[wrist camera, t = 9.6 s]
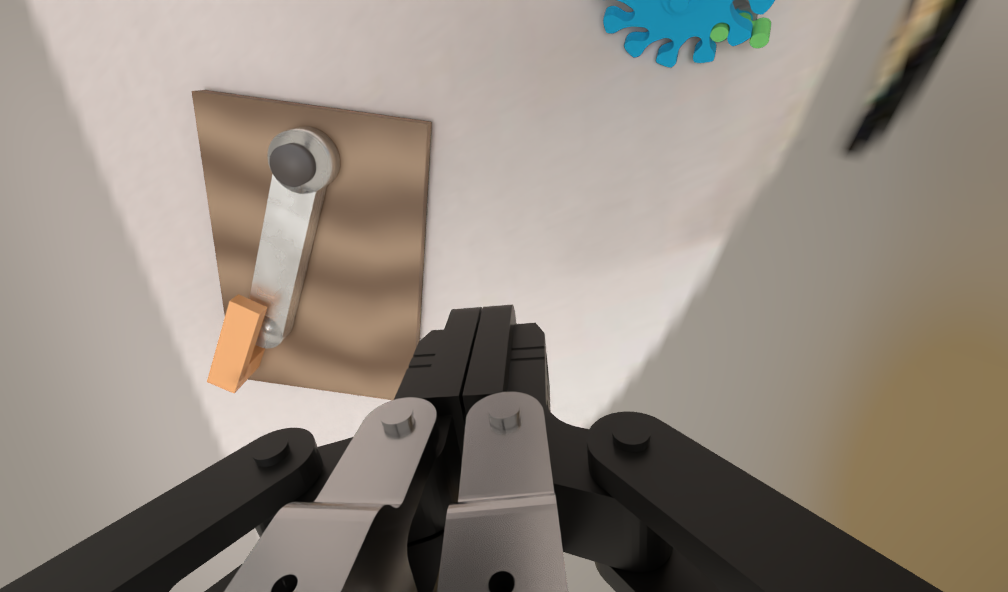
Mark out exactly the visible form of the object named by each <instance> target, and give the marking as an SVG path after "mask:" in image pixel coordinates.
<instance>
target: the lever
mask: <svg viewBox="0 0 1008 592" xmlns="http://www.w3.org/2000/svg"><path fill="white" fill-rule="evenodd" d="M288 143H297V144H300V145H303V146H304V147H306V148H307V149H308V150H309V151H310V152H311V153H312V155H313V156H314V158H315V161H316V173H315V176H314V177H313V179H312V180H310V181H309V182H307V183H305V184H303V185H301V186H298V187H290V186H286V185H284V184H282V183H281V182H279V181H278V180H277V179H276V178H275V176H274V175H273V173H272V180H271V185H270V190H269V196H268V201H267V206H266V212H265V217H264V222H263V228H262V233H261V239H260V244H259V249H258V255H257V260H256V265H255V271H254V276H253V281H252V287H251V292H250V297H249V299H250V300H252V301H255V302H257V303H259V304H261V305H263V306H266V307H267V310H266V313H265V316H264V319H263V323H262V326H261V329H260V332H259V335H258V338H257V341H256V344H255V345H257V346H259V347H262V348H273V347H276V346H277V345H279V344H280V343H281V341H282V340H283V339H284V338H285V337H286V336H287V335H288V334H289V333H290V332H291V330H292V328H293V324H294V320H295V316H296V312H297V308H298V304H299V299H300V295H301V291H302V287H303V283H304V279H305V274H306V270H307V266H308V262H309V258H310V254H311V250H312V245H313V241H314V237H315V233H316V229H317V225H318V220H319V216H320V212H321V208H322V204H323V200H324V195H325V191H326V187H327V185H328V184H330V183H331V182H332V181H333V180H334V179H335V178H336V176H337V174H338V172H339V168H340V157H339V153H338V150H337V148H336V146H335V144H334V143H333V142H332V140H331V139H330V138H329V137H328V136H327V135H326V134H325V133H323V132H321V131H320V130H318V129H315V128H312V127H299V128H295V129H291V130H287V131H284V132H281V133H279V134H278V135H277V136H275V137H274V138H273V140H272V141H271V143H270V145H269V148H268V154H267V155H268V164H269V167H270V163H269V160H270V155H271V153H272V152H273V150H274V149H275V148H277V147H279V146H281V145H285V144H288ZM270 170H271V168H270ZM271 172H272V171H271Z"/></svg>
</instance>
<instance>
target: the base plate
mask: <svg viewBox="0 0 1008 592" xmlns="http://www.w3.org/2000/svg"><path fill="white" fill-rule="evenodd" d="M192 97H193V104H194V110H195V117H196V124H197V131H198V138H199V144H200V151H201V158H202V165H203V171H204V178H205V185H206V192H207V198H208V205H209V212H210V219H211V225H212V232H213V239H214V246H215V253H216V259H217V266H218V273H219V280H220V286H221V293H222V300H223V307H224V313H225V315H226V312H227V308H228V305H229V301H230V300H231V299H233V298H234V297H235V296H237V295H238V294H239V295H241V296H244V297H246V298H248V299H249V297H250V292H251V287H252V281H253V276H254V271H255V265H256V260H257V255H258V249H259V244H260V239H261V233H262V228H263V222H264V217H265V212H266V206H267V201H268V196H269V190H270V185H271V180H272V173H273V175H274V176H275V178H276V179H277V180H278V181H279V182H281V183H282V184H284V185H286V186H290V187H298V186H301V185H303V184H305V183H307V182H309V181H310V180H312V179H313V177H314V176H315V173H316V161H315V158H314V156H313V155H312V153H311V152H310V151H309V150H308V149H307V148H306V147H304V146H303V145H300V144H297V143H288V144H285V145H281V146H279V147H277V148H275V149H274V150H273V152H272V153H271V155H270V160H269V163H270V167H269V164H268V155H267V154H268V148H269V145H270V143H271V141H272V140H273V138H274V137H275V136H277V135H278V134H279V133H281V132H284V131H287V130H291V129H295V128H299V127H312V128H315V129H318V130H320V131H321V132H323V133H325V134H326V135H327V136H328V137H329V138H330V139H331V140H332V142H333V143H334V144H335V146H336V148H337V150H338V153H339V157H340V168H339V172H338V174H337V176H336V178H335V179H334V180H333V181H332V182H331V183H330V184H328V185H327V187H326V191H325V195H324V200H323V204H322V208H321V212H320V216H319V220H318V225H317V229H316V233H315V237H314V241H313V245H312V250H311V254H310V258H309V262H308V266H307V270H306V274H305V279H304V283H303V287H302V291H301V295H300V299H299V304H298V308H297V312H296V316H295V320H294V324H293V328H292V330H291V332H290V333H289V334H288V335H287V336H286V337H285V338H284V339H283V340H282V341H281V343H280V344H279V345H277V346H276V347H273V348H265V351H264V354H263V357H262V360H261V363H260V366H259V368H258V369H257V370H256V371H255V372H254V373H253V374H252V375H251V376H250V377H249V378H248V380H255V381H262V382H269V383H276V384H283V385H290V386H297V387H304V388H311V389H318V390H325V391H332V392H339V393H346V394H353V395H360V396H367V397H374V398H381V399H388V400H394V398H395V395H396V393H397V391H398V388H399V386H400V384H401V382H402V379H403V377H404V375H405V372H406V370H407V368H409V363H410V361H411V359H412V358H413V354H414V352H415V349H416V347H417V345H418V343H419V339H420V321H421V303H422V285H423V267H424V249H425V231H426V213H427V195H428V177H429V159H430V141H431V124H432V122H429V121H421V120H414V119H407V118H400V117H393V116H386V115H379V114H371V113H364V112H357V111H350V110H343V109H336V108H329V107H322V106H314V105H307V104H300V103H293V102H286V101H279V100H272V99H264V98H257V97H250V96H243V95H236V94H229V93H222V92H215V91H207V90H200V91H192ZM270 168H271V170H270ZM271 171H272V172H271Z"/></svg>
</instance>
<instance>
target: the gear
mask: <svg viewBox="0 0 1008 592" xmlns="http://www.w3.org/2000/svg"><path fill="white" fill-rule="evenodd" d="M617 1H621V2H623V3H625V4H627V5H628V6H630V7H631V8H632V9H633V10H634V11H633V12H625V11H623V10H622V9H620V8H619V7H616V6H610V7H608V8H607V9H606V12H605V15H604V20H603V22H604V27H605V30H606V33H615V32H617V31H619V30H621V29H623V28H626V27H632V26H633V27H644V28H646V29H648V31H647V32H632V33H630V34H628V35H627V37H626V41H625V44H624V47H625V49H626V51H627V52H628V53H629V54H630V55H631V56H632V57H638V56H640V55H641V54H642V52H643V51H644V49H645V48H646V47H647V46H648V45H649V44H651V43H652V42H654V41H657V40H660V39H662V38H669V39H671V40H672V42H669V43H666V44H664V45H662V46H661V47H660V48H659V50H658V54H657V58H656V62H657V63H659V64H661V65H663V66H666V67H670V68H671V67H673V66H674V65H675V64H676V61H677V56H678V52H679V48H680V47H681V45H682V44H683V43H684V42H685V41H686V40H687V39H688V38H690V37H694V36H696V37H699V38H701V40H700V41H699V42H698V43H697V44H696V46H695V50H694V55H693V60H694V62H696V63H705V62H711V61H713V60H714V57H715V52H716V43H715V42H721V41H723V40H725V39H726V38H727V41H728V43H729V44H730V45H731V46H736V45H739V44H741V43H743V42H744V41H746V40H748V39H749V38H750V45H751V46H752V47H753V48H762V47H764V46H765V45H766V44H767V43H768V41H769V36H770V29H771V21H770V20H769V19H768V18H759V19H757V15H758V14H764V13H765V12H766V11H767V10H768V9H769V8H770V7H771V6H772V4H773V3H774V1H775V0H617ZM714 41H715V42H714Z"/></svg>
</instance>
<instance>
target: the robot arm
mask: <svg viewBox="0 0 1008 592" xmlns="http://www.w3.org/2000/svg"><path fill="white" fill-rule="evenodd" d="M254 528H256V530H257V532H258V534H259V536H260V539H259V540H258V542H257V543H256V545H255V547H254V548H253V549H252V551H251V552H250V554H249V555H248V557H247V558H246V560H245V561H244V563H243V564H241V565H240V566H239V567H237V568H236V569H235V570H233V571H232V572H230V573H229V574H228V575H227V576H225V577H224V578H222V579H221V580H220V581H219V582H217V583H216V584H214V585H213V586H211V587H210V588H209V589H207V590H206V591H205V592H568V586H567V580H566V571H565V563H564V556H563V552H566V553H569V554H572V555H575V556H579V557H582V558H585V559H589V560H592V561H595V565H596V568H597V570H598V571H599V573H600V575H601V576H602V577H603V579H604V580H605V581H606V582H607V583H608V584H609V585H610V586H611V587H612V588H613V589H614V590H615V591H616V592H943V591H941V590H940V589H938V588H936V587H935V586H933V585H931V584H929V583H928V582H926V581H925V580H923V579H921V578H920V577H918V576H916V575H915V574H913V573H912V572H910V571H908V570H907V569H905V568H903V567H901V566H900V565H898V564H896V563H895V562H893V561H892V560H890V559H888V558H887V557H885V556H883V555H882V554H880V553H878V552H877V551H875V550H874V549H872V548H870V547H868V546H867V545H865V544H864V543H862V542H860V541H859V540H857V539H855V538H854V537H852V536H850V535H849V534H847V533H845V532H844V531H842V530H841V529H839V528H837V527H835V526H834V525H832V524H831V523H829V522H827V521H826V520H824V519H822V518H821V517H819V516H817V515H816V514H814V513H812V512H811V511H809V510H808V509H806V508H804V507H803V506H801V505H799V504H798V503H796V502H794V501H793V500H791V499H789V498H788V497H786V496H784V495H783V494H781V493H779V492H778V491H776V490H775V489H773V488H771V487H770V486H768V485H766V484H764V483H763V482H761V481H760V480H758V479H756V478H755V477H753V476H751V475H749V474H748V473H747V472H745V471H743V470H742V469H740V468H738V467H736V466H735V465H733V464H732V463H730V462H728V461H727V460H725V459H723V458H722V457H720V456H718V455H717V454H715V453H714V452H712V451H710V450H709V449H707V448H705V447H703V446H702V445H700V444H699V443H697V442H695V441H694V440H692V439H690V438H689V437H687V436H685V435H684V434H682V433H681V432H679V431H677V430H676V429H674V428H672V427H671V426H669V425H667V424H666V423H664V422H662V421H661V420H659V419H657V418H655V417H653V416H650V415H647V414H643V413H637V412H617V413H612V414H609V415H606V416H604V417H602V418H600V419H599V420H597V421H596V422H595V423H594V424H593V425H592V426H591V428H590V429H585V428H580V427H575V426H572V425H569V424H566V423H564V422H562V421H560V420H559V419H557V418H556V417H555V416H554V415H553V414H552V413H551V412H550V385H549V375H548V365H547V354H546V344H545V333H544V332H543V331H542V330H541V329H540V327H539V326H538V325H537V324H536V323H526V324H516V317H515V310H514V306H513V305H502V306H489V307H483V309H482V307H477V308H464V309H452V310H451V312H450V315H449V318H448V321H447V323H446V326H445V329H444V330H432V331H431V332H430V333H428V334H427V335H426V336H425V337H424V338H423V339H422V340H421V341H419V343H418V345H417V347H416V349H415V352H414V354H413V358H412V359H411V361H410V363H409V368H407V370H406V372H405V375H404V377H403V379H402V382H401V384H400V386H399V388H398V391H397V393H396V395H395V398H394V400H392V401H389V402H387V403H385V404H383V405H381V406H379V407H377V408H376V409H374V410H373V411H372V412H370V413H369V414H368V415H367V416H366V418H365V419H364V421H363V422H362V424H361V425H360V427H359V429H358V430H357V432H356V434H355V435H354V437H352V438H348V439H345V440H342V441H338V442H334V443H331V444H327V445H323V446H320V447H317V444H316V442H315V439H314V437H313V435H312V434H311V433H310V432H309V431H307V430H305V429H302V428H286V429H281V430H277V431H274V432H271V433H268V434H266V435H264V436H262V437H260V438H258V439H256V440H254V441H253V442H251V443H249V444H248V445H246V446H244V447H242V448H241V449H239V450H237V451H236V452H234V453H232V454H230V455H229V456H227V457H225V458H224V459H222V460H220V461H218V462H217V463H215V464H214V465H212V466H210V467H208V468H206V469H205V470H203V471H201V472H200V473H198V474H196V475H195V476H193V477H191V478H189V479H188V480H186V481H184V482H182V483H181V484H179V485H177V486H176V487H174V488H172V489H171V490H169V491H167V492H165V493H164V494H162V495H160V496H159V497H157V498H155V499H153V500H152V501H150V502H148V503H147V504H145V505H143V506H141V507H140V508H138V509H136V510H135V511H133V512H131V513H129V514H128V515H126V516H124V517H123V518H121V519H119V520H117V521H116V522H114V523H112V524H111V525H109V526H107V527H105V528H104V529H102V530H100V531H99V532H97V533H95V534H93V535H92V536H90V537H88V538H87V539H85V540H83V541H81V542H80V543H78V544H76V545H75V546H73V547H71V548H70V549H68V550H66V551H64V552H63V553H61V554H59V555H58V556H56V557H54V558H52V559H51V560H49V561H47V562H46V563H44V564H42V565H40V566H39V567H37V568H35V569H34V570H32V571H30V572H28V573H27V574H25V575H23V576H22V577H20V578H18V579H16V580H15V581H13V582H11V583H10V584H8V585H6V586H4V587H3V588H1V589H0V592H169V591H170V590H171V588H172V587H173V586H174V585H175V584H176V583H178V582H179V581H180V580H181V579H183V578H184V577H186V576H187V575H188V574H190V573H191V572H193V571H194V570H195V569H197V568H198V567H200V566H201V565H203V564H204V563H206V562H207V561H208V560H210V559H211V558H213V557H214V556H216V555H217V554H218V553H220V552H221V551H223V550H224V549H225V548H227V547H228V546H230V545H231V544H232V543H234V542H236V541H237V540H238V539H240V538H241V537H243V536H244V535H245V534H247V533H248V532H250V531H251V530H253V529H254Z"/></svg>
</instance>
